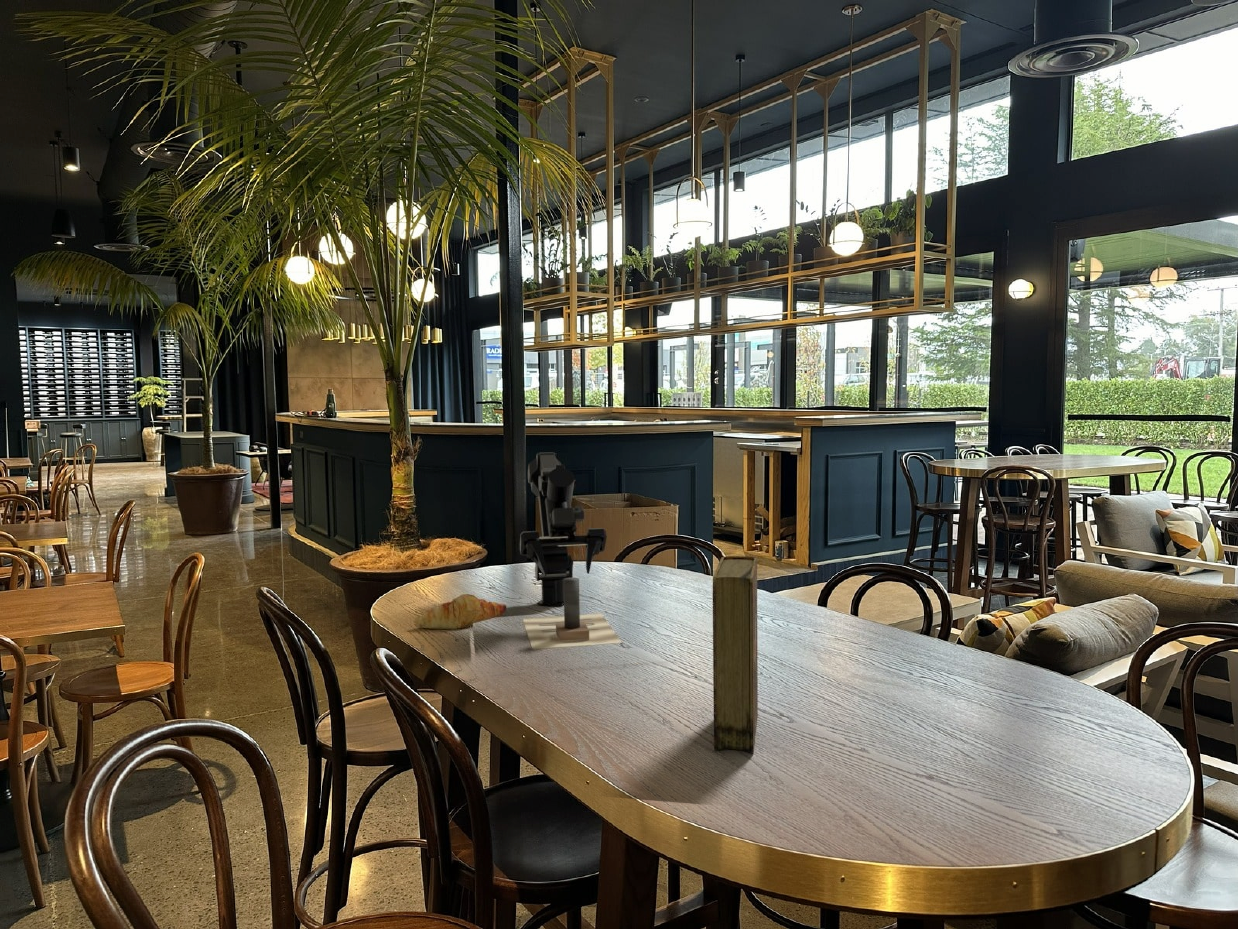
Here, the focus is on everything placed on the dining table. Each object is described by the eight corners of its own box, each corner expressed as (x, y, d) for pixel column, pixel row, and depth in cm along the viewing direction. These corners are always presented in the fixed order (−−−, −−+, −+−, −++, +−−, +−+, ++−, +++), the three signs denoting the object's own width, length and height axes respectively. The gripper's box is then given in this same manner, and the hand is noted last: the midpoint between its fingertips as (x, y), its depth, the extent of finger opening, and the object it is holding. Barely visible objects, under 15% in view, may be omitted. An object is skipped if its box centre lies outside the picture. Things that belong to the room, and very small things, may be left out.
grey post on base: (555, 633, 177) (554, 576, 176) (584, 631, 178) (583, 575, 177) (560, 642, 170) (558, 583, 169) (589, 640, 171) (588, 581, 170)
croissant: (419, 648, 182) (422, 620, 178) (407, 618, 190) (410, 591, 186) (510, 632, 192) (515, 605, 189) (496, 604, 200) (500, 578, 196)
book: (723, 711, 133) (721, 555, 132) (758, 713, 132) (757, 556, 130) (713, 753, 117) (712, 577, 116) (753, 756, 116) (752, 578, 114)
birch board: (522, 623, 189) (522, 618, 189) (601, 617, 192) (601, 613, 192) (532, 654, 165) (532, 649, 165) (622, 647, 169) (622, 642, 169)
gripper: (519, 494, 181) (524, 554, 171) (604, 491, 185) (614, 549, 175) (517, 526, 190) (522, 584, 180) (599, 522, 193) (608, 579, 183)
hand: (567, 573), depth 179 cm, fingers open, 9 cm apart
